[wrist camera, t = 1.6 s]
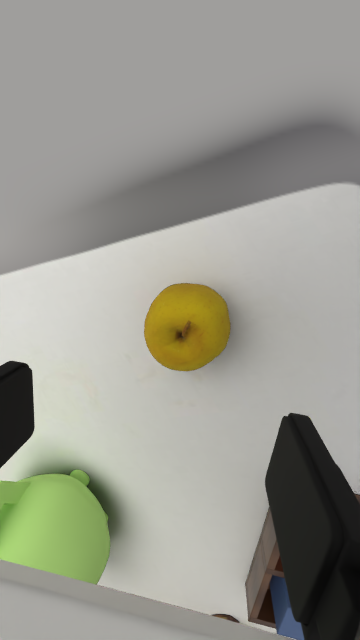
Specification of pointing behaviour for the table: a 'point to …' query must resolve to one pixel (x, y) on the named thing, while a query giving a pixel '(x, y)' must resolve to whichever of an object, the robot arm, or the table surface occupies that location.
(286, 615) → the blue block
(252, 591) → the tray
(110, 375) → the table surface
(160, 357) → the apple
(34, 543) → the teapot
